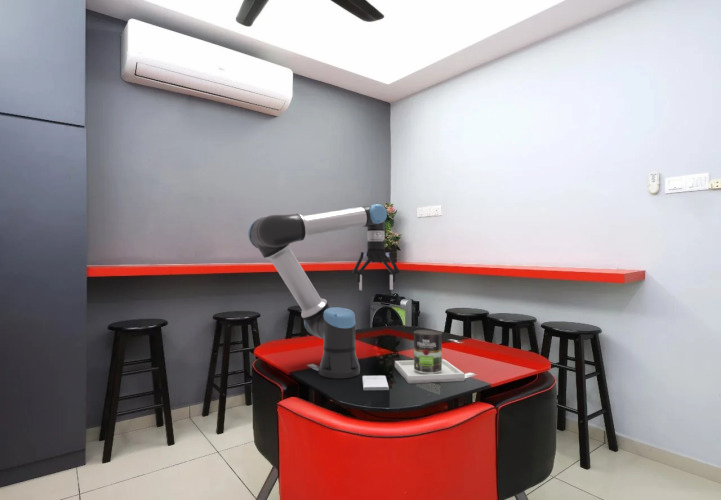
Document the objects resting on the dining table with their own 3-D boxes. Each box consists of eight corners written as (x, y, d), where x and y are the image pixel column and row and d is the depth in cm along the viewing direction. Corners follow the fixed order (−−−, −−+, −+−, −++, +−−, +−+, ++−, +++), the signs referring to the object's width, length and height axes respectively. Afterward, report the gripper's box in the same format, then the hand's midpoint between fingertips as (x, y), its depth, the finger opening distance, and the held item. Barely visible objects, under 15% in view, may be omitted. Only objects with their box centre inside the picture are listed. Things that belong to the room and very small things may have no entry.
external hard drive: (363, 392, 127) (362, 380, 139) (388, 391, 127) (385, 379, 140) (363, 387, 127) (362, 375, 139) (388, 386, 127) (385, 375, 140)
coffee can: (440, 375, 139) (440, 335, 139) (411, 373, 142) (411, 333, 142) (443, 367, 148) (443, 330, 149) (416, 365, 152) (416, 328, 152)
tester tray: (408, 383, 134) (408, 376, 134) (394, 367, 153) (394, 360, 153) (464, 380, 137) (464, 373, 137) (443, 365, 156) (443, 359, 156)
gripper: (348, 240, 166) (348, 290, 166) (406, 240, 170) (406, 290, 169) (346, 241, 173) (346, 289, 173) (401, 241, 177) (401, 288, 177)
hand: (376, 289), depth 171 cm, fingers open, 13 cm apart
